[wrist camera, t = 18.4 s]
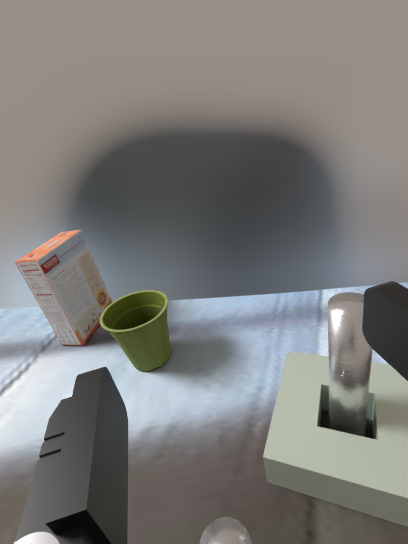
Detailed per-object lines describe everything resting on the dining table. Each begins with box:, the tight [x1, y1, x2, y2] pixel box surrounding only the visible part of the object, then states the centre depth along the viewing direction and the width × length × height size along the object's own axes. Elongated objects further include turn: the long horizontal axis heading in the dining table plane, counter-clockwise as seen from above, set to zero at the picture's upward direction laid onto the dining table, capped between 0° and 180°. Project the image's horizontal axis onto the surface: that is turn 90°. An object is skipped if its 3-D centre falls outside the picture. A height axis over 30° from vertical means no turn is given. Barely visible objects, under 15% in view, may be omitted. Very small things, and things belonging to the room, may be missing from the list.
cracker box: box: [16, 230, 112, 346], centre depth 66 cm, size 14×6×21 cm, turn 166°
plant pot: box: [100, 290, 171, 371], centre depth 55 cm, size 12×12×11 cm
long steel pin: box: [328, 292, 372, 437], centre depth 33 cm, size 4×4×20 cm
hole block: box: [263, 352, 408, 527], centre depth 37 cm, size 16×16×5 cm
